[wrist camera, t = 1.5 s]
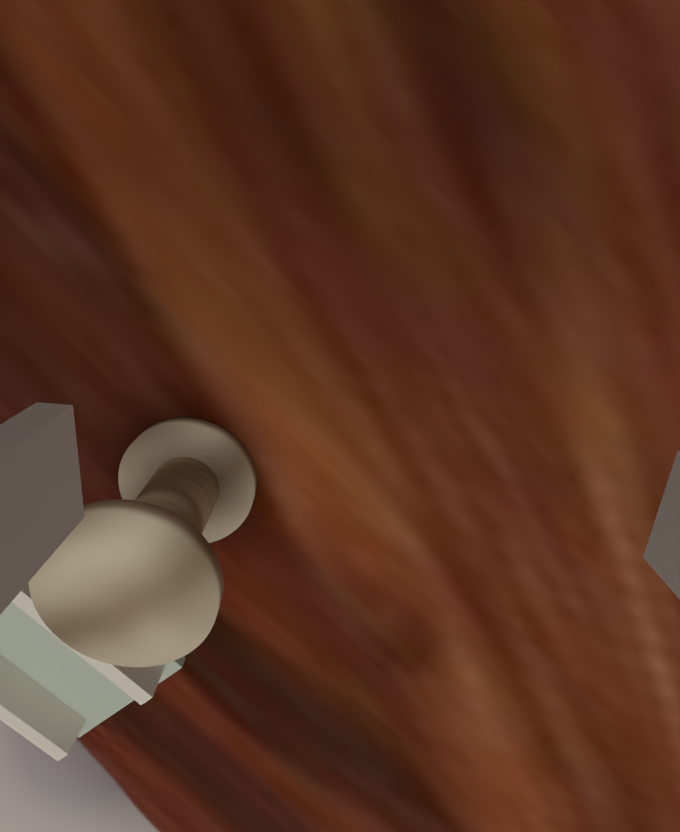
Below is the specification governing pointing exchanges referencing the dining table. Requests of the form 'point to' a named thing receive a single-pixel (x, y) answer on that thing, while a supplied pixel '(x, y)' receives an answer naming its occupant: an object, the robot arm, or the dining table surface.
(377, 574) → the dining table surface
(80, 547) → the bobbin
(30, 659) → the notch board
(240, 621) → the dining table surface
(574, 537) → the dining table surface
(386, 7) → the dining table surface
